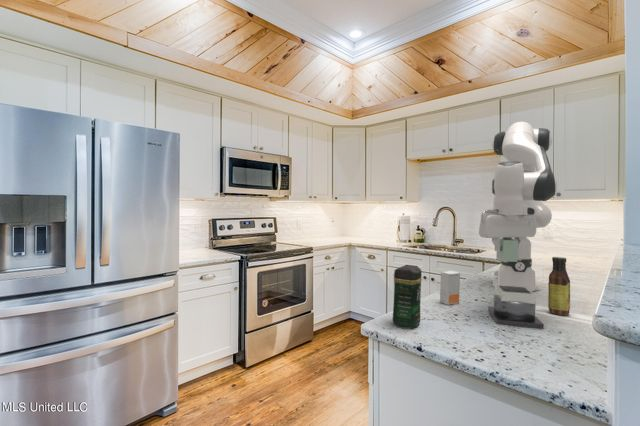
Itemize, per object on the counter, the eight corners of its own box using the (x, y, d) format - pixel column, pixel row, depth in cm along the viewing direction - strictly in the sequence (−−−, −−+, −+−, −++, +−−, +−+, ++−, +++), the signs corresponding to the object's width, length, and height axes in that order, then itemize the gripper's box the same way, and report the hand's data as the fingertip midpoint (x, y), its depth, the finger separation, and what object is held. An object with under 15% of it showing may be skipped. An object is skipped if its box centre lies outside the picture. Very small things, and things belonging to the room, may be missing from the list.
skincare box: (447, 305, 123) (448, 273, 122) (439, 302, 127) (440, 271, 126) (459, 303, 125) (460, 272, 125) (451, 300, 129) (451, 270, 129)
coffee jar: (415, 331, 97) (416, 269, 97) (389, 325, 101) (390, 266, 101) (423, 321, 106) (424, 264, 105) (399, 316, 110) (400, 262, 109)
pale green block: (496, 258, 112) (497, 233, 112) (510, 258, 112) (511, 234, 111) (502, 261, 107) (503, 235, 107) (517, 261, 106) (518, 235, 106)
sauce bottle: (573, 317, 112) (575, 259, 111) (553, 315, 113) (555, 258, 112) (563, 310, 118) (565, 256, 117) (544, 309, 119) (545, 255, 119)
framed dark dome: (487, 310, 117) (488, 282, 117) (529, 314, 114) (529, 286, 113) (496, 324, 104) (497, 293, 104) (543, 329, 100) (544, 296, 100)
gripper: (489, 209, 103) (487, 253, 104) (540, 209, 108) (539, 251, 109) (475, 209, 109) (474, 250, 110) (524, 209, 114) (523, 248, 115)
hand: (507, 250), depth 109 cm, fingers closed on pale green block, 6 cm apart
